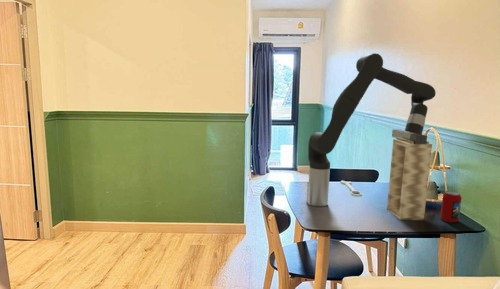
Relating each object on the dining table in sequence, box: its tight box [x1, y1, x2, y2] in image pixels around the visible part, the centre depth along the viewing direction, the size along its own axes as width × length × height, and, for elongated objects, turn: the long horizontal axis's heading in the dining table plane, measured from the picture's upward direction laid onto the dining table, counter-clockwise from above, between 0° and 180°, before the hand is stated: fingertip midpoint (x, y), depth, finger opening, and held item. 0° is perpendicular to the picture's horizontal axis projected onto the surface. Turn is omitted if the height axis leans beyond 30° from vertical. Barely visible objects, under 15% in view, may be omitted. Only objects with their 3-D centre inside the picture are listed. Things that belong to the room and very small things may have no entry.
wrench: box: [340, 180, 362, 197], centre depth 192 cm, size 28×2×6 cm
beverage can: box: [440, 190, 462, 223], centre depth 146 cm, size 7×7×12 cm
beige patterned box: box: [386, 137, 433, 221], centre depth 150 cm, size 10×13×33 cm
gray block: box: [391, 128, 428, 144], centre depth 151 cm, size 5×22×4 cm, turn 3°
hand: (406, 157), depth 161 cm, fingers open, 8 cm apart
